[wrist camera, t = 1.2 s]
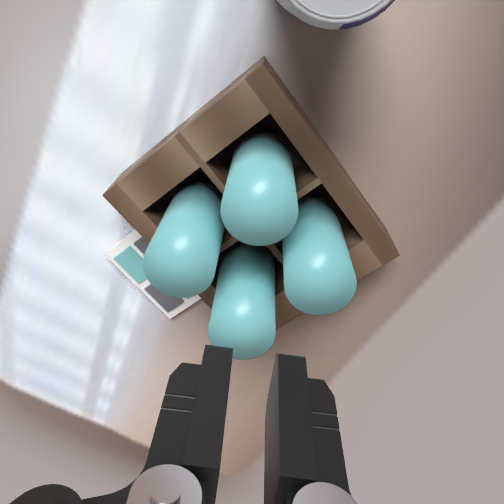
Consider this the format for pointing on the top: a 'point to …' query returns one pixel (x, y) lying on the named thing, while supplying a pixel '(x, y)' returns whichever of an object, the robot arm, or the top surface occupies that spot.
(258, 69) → the wooden compartment tray
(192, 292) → the pale teal rounded cylinder
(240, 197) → the teal capsule
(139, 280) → the tile
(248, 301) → the light turquoise rounded peg
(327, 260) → the turquoise cylinder
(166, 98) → the top surface
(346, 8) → the energy drink
